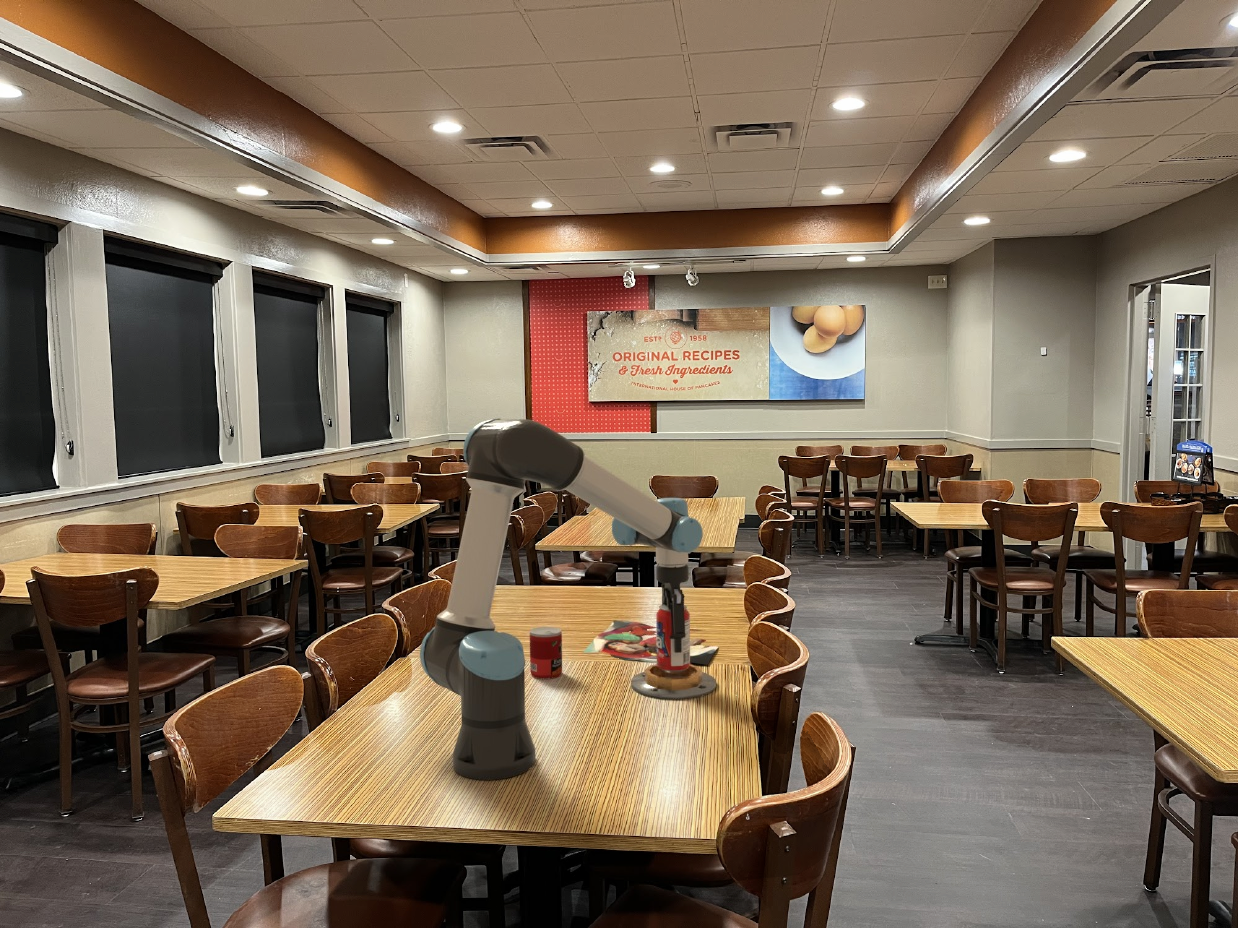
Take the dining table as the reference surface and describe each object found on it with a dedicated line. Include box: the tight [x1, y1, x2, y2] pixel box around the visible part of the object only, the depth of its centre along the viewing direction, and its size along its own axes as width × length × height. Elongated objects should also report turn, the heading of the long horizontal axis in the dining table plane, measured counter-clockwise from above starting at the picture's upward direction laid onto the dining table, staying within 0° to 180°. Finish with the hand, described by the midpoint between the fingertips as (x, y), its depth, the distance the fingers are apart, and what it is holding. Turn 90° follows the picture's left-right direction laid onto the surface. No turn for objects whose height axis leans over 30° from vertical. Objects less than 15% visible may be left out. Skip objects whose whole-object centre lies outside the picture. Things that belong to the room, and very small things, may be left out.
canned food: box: [529, 626, 563, 680], centre depth 212 cm, size 8×8×11 cm
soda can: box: [655, 604, 691, 673], centre depth 202 cm, size 8×8×15 cm
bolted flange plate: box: [630, 663, 717, 700], centre depth 203 cm, size 20×20×4 cm
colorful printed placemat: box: [582, 619, 719, 665], centre depth 238 cm, size 35×35×2 cm
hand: (673, 659), depth 202 cm, fingers closed on soda can, 8 cm apart
